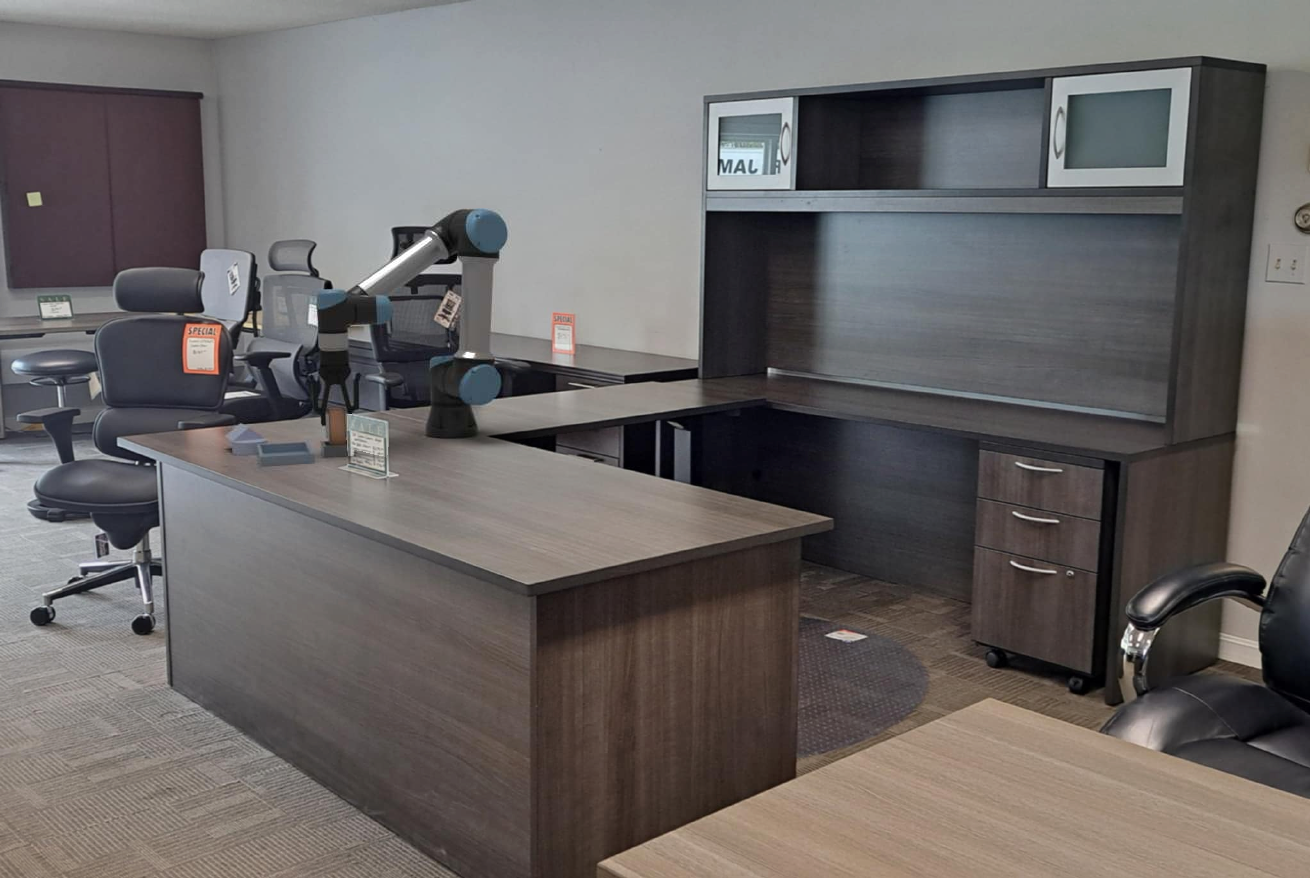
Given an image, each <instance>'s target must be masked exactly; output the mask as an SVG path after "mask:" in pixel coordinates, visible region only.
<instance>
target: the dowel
mask: <svg viewBox="0 0 1310 878" xmlns="http://www.w3.org/2000/svg"><path fill="white" fill-rule="evenodd" d="M345 412H346V408H343V407H332V408H327V413H328V414H329V432H330V439H328V441H329V446H332V445H346V440H347V438H346V429H345Z"/></svg>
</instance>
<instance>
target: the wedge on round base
mask: <svg viewBox="0 0 1310 878" xmlns="http://www.w3.org/2000/svg"><path fill="white" fill-rule="evenodd" d="M224 438H226V439H227V440H229V441H230V442H231V448H232V450H231V451H232V454H233V455H236V456H257V444H268V438H266V437H264V436H263V435H261V434H260V433H259V432H257V431H255V430H254V429H252V428H250V427H248V426H246V425H245V424H243V423H238V424H237V425H236V426H235V427H234V428H233V429H232V430H231V431H229V432H228V433H227V434H226V435H225V436H224Z"/></svg>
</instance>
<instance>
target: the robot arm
mask: <svg viewBox="0 0 1310 878" xmlns="http://www.w3.org/2000/svg"><path fill="white" fill-rule="evenodd" d="M508 234H509V233H508V227H507V224H506V222H505V220H504V218H502V217H501V215H500V214H499V213H498V212H495V211H493V210H492V209H485V208H470V209H468V208H462V209H458V210H454V211H453V212H450V214H447V215H446V216H444V217H443V218H442V219H440V220H439V221H437V222H436V223H435V224H433V225H432V226H430V227H429V228H427V229H426V230H425V232H424V236H423V237H421V238H420V239H419V240H417V241H416V242H415V243H413V244H412V245H411V246H409V247H408V248H406V249H405V250H404V251H401V253H399V254H397V255H396V256H395V257H394V258H392V259H390V260H389V261H388V262H386V263H385V264H384V265H382V266H381V267H380V268H378V269H376V270H375V271H374V272H372V273H371V274H369V275H368V276H367V277H366V278H364V279H363V280H361V281H360V282H358V283H356V285H354V286H353V287H351V288H349V289H348V290H347V291H346V290H345V289H337V288H335V289H334V288H333V289H332V288H331V289H326V288H325V289H320V290H318V292H317V293H316V307H315V308H316V317H317V318H316V319H317V338H318V343H317V344H318V348H319V349H320V350H319V351H318V362H319V363H318V364H319V366H318V369H317V371H316V372H313V373H308V377H307V378H308V379H309V381H310V385H311V387H310V388H311V400H312V410H313V411H314V413H318V414H320V424H321V426H322V427H325V438H326V440H329V439H330V432H329V414H328V412H327V409H328V408H327V407H328V401H329V395H330V391H331V388H332V387H331V386H334V385H338V386H339V387H340V391H341V392H342V393H341V394H342V398H343V402H344V405H345V410H346V411H345V429H346V439H348V438H347V414H352V415H353V413H354V411H359V409H360V380H361V377H362V374H361V372H360V371H355V370H352V368H351V367H350V357H349V355H350V352H349V349H348V348H349V333H348V332H349V330H348V326H364V325H366V326H368V325H382V324H383V325H384V324H387V323H389V322H390V321H391V319H392V315H393V307H392V302H391V300H390V299H389V297H390V296H391V295H392V294H393V293H395V292H396V291H398V290H400V289H401V288H402V287H404V286H405V285H406V284H408V283H409V282H410V281H412V280H413V279H414V278H416V277H417V276H419V275H420V274H421V273H423V272H424V271H426V270H427V269H428V268H429V267H432V265H434V264H435V263H436V262H438V261H440V260H447V259H449V258H450V257H451V256H453V255H455V254H457V256H456V257H457V259H458V260H459V261H460V262H461V264H462V266H461V289H460V290H461V291H460V294H461V295H460V316H459V317H460V319H459V340H458V341H459V343H458V346H459V347H458V350H457V351H456V353H454V354H453V355H443V356H442V355H441V356H433V357H431V359H430V361H429V369H428V371H429V386H430V387H429V388H430V391H429V392H430V393H429V394H430V410H429V413H428V417H427V421H426V423H425V424H426V425H425V430H424V431H425V435H426V436H428V437H431V438H442V439H443V438H444V439H451V438H452V439H453V438H464V437H465V438H468V437H472V436H475V435H478V433H479V428H478V423H477V421H476V416H475V414H474V411H473V409H472V406H484V405H487V404H490V403H491V402H492V401H493V400H494V399H495V398H497V396H498V395H499V392H500V390H501V386H502V379H501V375H500V373H499V372H498V370H497V369H496V368H495V367H496V365H495V362H496V357H495V356H494V354H493V353H492V352H491V332H492V331H491V329H492V328H491V327H492V310H493V308H492V306H493V304H492V303H493V286H494V285H493V284H494V281H493V280H494V265H495V264H496V263H498V262H499V261H500V254H501V253H500V251H501V250H502V249H503V247H504V246H505V245H506V243H507V240H508ZM350 376H351V379H352V380H353V381H352V390H353V391H352V392H353V393H352V395H353V396H352V398H353V400H352V401H353V402H352V403H353V405H352V404H351V400H350V396H349V392H348V389H347V384H346V381H347V379H348V378H349V377H350ZM319 377H320V378H321V379H322V381H323V382H324V385H323V386H324V387H323V392H322V393H323V394H322V398H321V404H320V407H319V398H318V397H319V396H318V395H319V394H318V386H317V385H318V384H317V381H319Z"/></svg>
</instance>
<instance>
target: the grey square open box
mask: <svg viewBox="0 0 1310 878" xmlns="http://www.w3.org/2000/svg"><path fill="white" fill-rule="evenodd" d="M347 440H348V439H346V445H332V446H329V440H321V441H320V453H321V456H322V457H323V458H324V459H330V458H347V456H348V451H347Z"/></svg>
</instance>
